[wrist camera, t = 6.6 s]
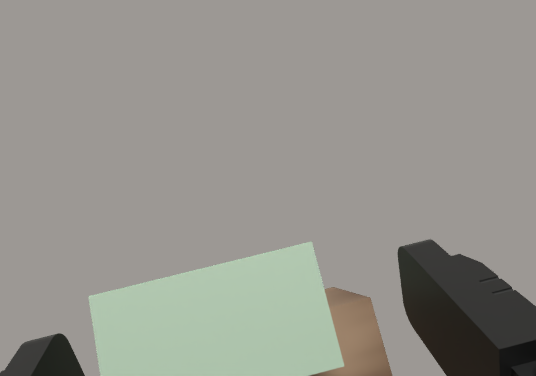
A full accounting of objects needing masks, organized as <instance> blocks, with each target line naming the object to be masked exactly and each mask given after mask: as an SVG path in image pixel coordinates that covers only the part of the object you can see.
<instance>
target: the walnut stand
mask: <svg viewBox="0 0 536 376" xmlns="http://www.w3.org/2000/svg"><path fill="white" fill-rule="evenodd" d="M324 290H325V294H326V298H327V301H328V305H329V309H330V313H331V317H332V320H333V324H334V328H335V332H336V336H337V340H338V343H339V347H340V351H341V355H342V359H343V362H344V367H340V368H336V369H332V370H329V371H325V372H321V373H317V374H313V375H309V376H392V373H391V370H390V366H389V362H388V359H387V355H386V352H385V348H384V345H383V341H382V338H381V334H380V331H379V327H378V323H377V320H376V316H375V313H374V309H373V306H372V302H371V299H370V297H366V296H362V295H359V294H356V293H352V292H349V291H345V290H342V289H338V288H335V287H331V288H328V289H324Z"/></svg>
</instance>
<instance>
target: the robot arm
mask: <svg viewBox="0 0 536 376" xmlns="http://www.w3.org/2000/svg"><path fill="white" fill-rule="evenodd" d="M398 262H399V269H400V278H401V287H402V295H403V303H404V307H405V311H406V314H407V316H408V319H409V321H410V323H411V325H412V327H413V328H414V330H415V331H416V333H417V334H418V335H419V337H420V338H421V340H422V341H423V343H424V344H425V345H426V347H427V348H428V350H429V351H430V353H431V354H432V355H433V357H434V358H435V360H436V361H437V363H438V364H439V365H440V367H441V368H442V369H443V371H444V373H445V374H446V375H447V376H536V306H534V305H533V304H532V303H531V302H530V301H528V300H527V299H526V298H524V297H523V296H522V295H521V294H520V293H518V292H517V291H516V290H514V291H513V289H512V287H511V286H510V285H509V284H507V283H506V282H505V281H504V280H502V279H499V278H498V276H497V275H496V274H495V273H494V272H492V271H491V270H490V269H489V268H487V267H486V266H485V265H484V264H483V263H481V262H478V261H476V260H473V259H471V258H468V257H466V256H463V255H461V254H458V255H454V256H450V255H448V253H446V251H444V250H443V249H442V248H441V247H440V246H439V245H438V244H437V243H435V242H434V241H433V240H426V241H422V242H418V243H413V244H409V245H405V246H401V247H399V249H398ZM0 376H85V375H84V373H83V371H82V369H81V367H80V364H79V362H78V360H77V358H76V356H75V354H74V352H73V350H72V348H71V345H70V343H69V341H68V340H67V338H66V337H65V336H64V335H63V334H55V335H51V336H47V337H43V338H39V339H35V340H31V341H27V342H25V343H23V344H22V345H21V346H20V348H19V349H18V351H17V353H16V354H15V355H14V357H13V358H12V360H11V361H10V363H9V364H8V366H7V367H6V369H5V370H4V371H2V372H1V373H0Z"/></svg>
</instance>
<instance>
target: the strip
mask: <svg viewBox="0 0 536 376" xmlns="http://www.w3.org/2000/svg"><path fill="white" fill-rule="evenodd" d="M89 303H90V310H91V316H92V323H93V330H94V336H95V343H96V350H97V355H98V363H99V370H100V376H309V375H313V374H317V373H321V372H325V371H329V370H332V369H336V368H340V367H344V362H343V359H342V355H341V351H340V347H339V343H338V340H337V336H336V332H335V328H334V324H333V320H332V317H331V313H330V309H329V305H328V301H327V298H326V294H325V290H324V286H323V282H322V278H321V275H320V271H319V268H318V263H317V259H316V256H315V252H314V249H313V244H312V242H308V243H304V244H300V245H296V246H292V247H288V248H284V249H280V250H276V251H271V252H267V253H264V254H259V255H255V256H251V257H247V258H243V259H239V260H235V261H231V262H227V263H223V264H218V265H214V266H210V267H206V268H202V269H198V270H194V271H190V272H186V273H182V274H178V275H174V276H170V277H166V278H161V279H157V280H153V281H150V282H145V283H141V284H137V285H133V286H129V287H125V288H121V289H117V290H113V291H109V292H105V293H100V294H96V295H92V296H89Z"/></svg>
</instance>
